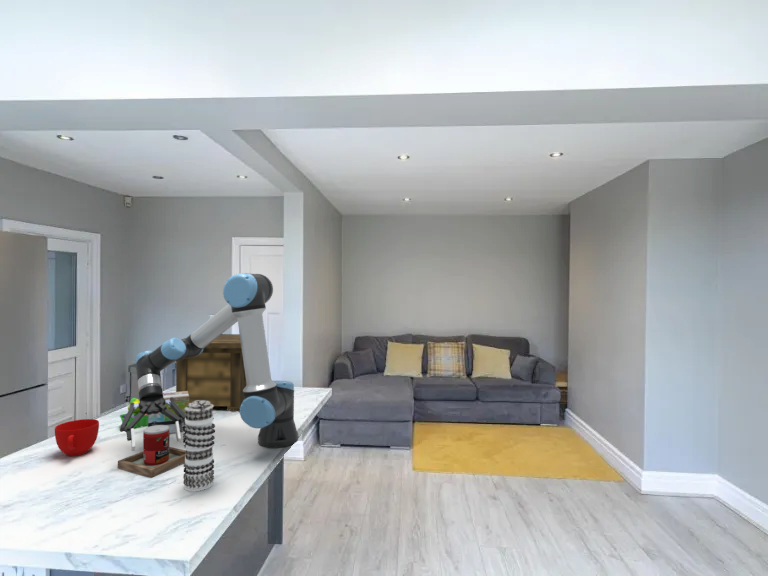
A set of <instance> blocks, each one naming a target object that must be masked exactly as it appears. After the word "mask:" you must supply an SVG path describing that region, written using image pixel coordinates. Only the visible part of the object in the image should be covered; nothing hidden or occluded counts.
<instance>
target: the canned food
mask: <svg viewBox="0 0 768 576" xmlns="http://www.w3.org/2000/svg"><path fill="white" fill-rule="evenodd" d="M142 437H143V439H142V442H143V443H142V447H143V449H142V452H143V461H144V463H145V464H146V465H159V464H163V463H165V462H167V461H168V459H169V447H170V433H169V426H166V425H155V426H150V427H148V426H146V427H145V428H144V429H143V436H142Z"/></svg>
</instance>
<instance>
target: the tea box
mask: <svg viewBox="0 0 768 576" xmlns="http://www.w3.org/2000/svg"><path fill="white" fill-rule="evenodd" d="M171 397H173V398H174V401H175V403H176V404H177V405H178V407H179V408H180V409H181V410H182V411H183V412H184V414H185V415H186V410H185V408H186V407H187V406H188V404H189V394H188V391H182V392H176V391H172V392H170V391H169V392H163V398H164V399H165V400H168V399H170V398H171ZM164 406H166V407H167V409H169V410H170V411H172V412H173V413H174V414H176V413H175V412H174V411H173V410H172V408H171V407H170V406H168V404H165V405H164ZM176 415H177V414H176ZM182 424H183V423H182ZM155 425H166V426H169V434H173V433H176V430H175V422H174V421H172V420H171V419H170V418H168V417H167V416H165V415H164V414H161V413H160V412H159V413H158V414H151V415H148V426H147V427H150V426H155ZM182 427H183V425H182ZM185 430H186V428H185ZM182 432H183V430H182ZM183 433H184V432H183Z"/></svg>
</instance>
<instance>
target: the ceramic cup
mask: <svg viewBox="0 0 768 576" xmlns="http://www.w3.org/2000/svg"><path fill="white" fill-rule="evenodd" d="M99 429H100V421H99V420H98V419H93V418H85V419H84V418H83V419H76V420H69V421H66V422H63V423H60V424H57V425H56V426H55V427H54V438H55V442H56V444H57V445H56V446H57V447H58V449H59V451H61V452H62V453H63V454H65V456H67V457H76V456H77V457H78V456H81V455H85V454H87V453H88V452H89V451H90V450H91V449H92V447H93V446H94V444H95V443H96V441H97V438H98V435H99Z"/></svg>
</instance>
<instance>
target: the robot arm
mask: <svg viewBox="0 0 768 576" xmlns="http://www.w3.org/2000/svg"><path fill="white" fill-rule="evenodd" d="M273 293H274V286H273V283H272V281H271V280H270V278H269V277H267V276H266V275H264V274H261V273H251V272H250V273H249V272H241V273H236V274H234V275H232V276H230V277H229V278H228V279H227V280H226V282H225V284H224V286H223V289H222V295H223V298H224V301H225V302H226V303H227V304H226V305H225V306H223V308H222V309H220V310H219V311H218V312H217V313H215V314H214V315H212V316H211V317H210V318H209V319H208V320H206V321H205V322H204V323H203V324H201V326H198V327H197V329H195V330H193V332H192V333H191V334H189V335H188V336H187V337H185V339H184V338H183V339H184V340H181V339H180V338H177V337H172V338H170V339H168V340H166V341H164V342H163V343H162V344H161V345H160V346H158V347H156V349H154V350H144V351H142V352H139V353H138V354H137V355H136V356H135V357H136V358H135V371H136V380H137V386H138V387H137V389H138V399H139V401H140V403H139V404H134V403H133V402H131V403H130V402H129V404H130V409H129V411H127V412H126V414H127V415H126V417H125V418H124V420H123V422H122V421H121V422H122V423H121V424H120V426H119V432H121V433H123V432H124V433H125V434H126V440H127V441H128V442H129V441H130V443H131V444H130V445H131V452H132V451H136V449H135V448H136V442H135V441H136V440H135V428H134V426H135V425H136V424H137V423H138V422H139V421H140V419H141V418H142V417H143V416H144V415H145V414H148V415H151V414H158V413H159V412H160V413H161V414H164V415H165V416H167V417H168V418H170V419H171V420H172V421H174V422H175V430H176V432H175V435H176V436H175V437H176V441H177V442H176V443H180V442H181V439H182V437H181V432H182V429H183V427H182V422H184V421H185V418H186V415H185V414H184V412H183V411H182V410H181V409H180V408H179V407H178V405H177V404H176V403H175V401H174V398H173V397H171V398H170V399H168V400H165V399H164V398H163V393H164V391H163V386H162V385H163V384H162V377H161V372H162V371H163V370H164V369H166V368H167V367H169V366H170V365H172V364H173V363H176V361H180V360H183V359H187V358H191V357H195V356H197V355H199V354H201V353H202V352H203V350H204V348H205V347H206V346H207V345H208V344H210V343H211V342H212V341H214V340H215V339H216V338H217V337H219V336H220V335H221V334H225V332H227V331H228V329H230V328H231V327H232V326H234V325H236V323H237V324H238V325H237V326H238V332H239V333H238V334H240V340H241V348H242V355H243V362H244V369H245V376H246V384H247V385H246V387H245V388H244V389H243V395H244V401H243V402H242V404H241V406H240V408H239V415H240V418H241V420H242V421H243V423H244V424H246V425H247V426H248V427H250V428H253V429H259V433H258V435H257V444H258V445H260V446H262V447H265V448H271V449H272V448H275V449H276V448H278V449H279V448H284V447H288V446H292V445H294V444H296V443H297V442H298V441H299V433H298V430H297V426H296V423H295V417H294V416H295V415H294V414H295V413H294V412H295V385H294V383H293V382H292V381H289V380H273V379H272V375H271V374H272V373H271V367H270V362H269V361H270V360H269V354H268V353H269V352H268V346H267V338H266V331H265V324H264V317H263V314H264V312H265V311H266V310H267V309H266V308H267V307H266V304H267V303H268V302H269V301H270V300H271V298H272V296H273ZM165 404H168V406H170V407H171V408H172V410H173V411H174V412H175V413H176V414H177V415H176V414H174V413H173V412H172V411H170V410H169V409H167V407H166V406H164V405H165ZM138 407H139V409H140V410H141V411H140V412H139V413H138V415H137V416H136V417H135V418H134V419H133V420H132V422H131V423H130V424H129V425H128V426H127V424H128V422H129V420H130V418H131V416H132V414H133V411H135V410H136V408H138Z"/></svg>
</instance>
